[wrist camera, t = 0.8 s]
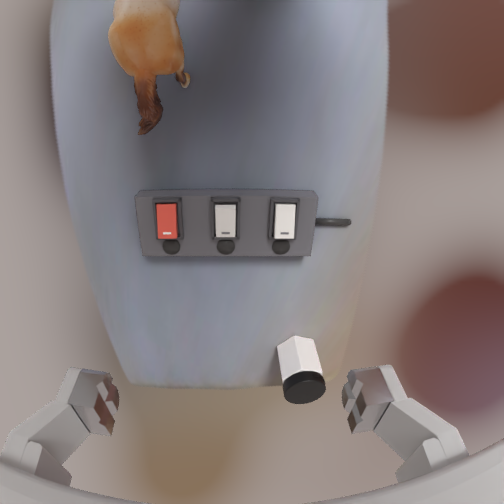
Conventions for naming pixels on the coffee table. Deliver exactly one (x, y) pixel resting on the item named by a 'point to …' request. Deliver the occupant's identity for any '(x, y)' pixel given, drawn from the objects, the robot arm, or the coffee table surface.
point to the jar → (300, 370)
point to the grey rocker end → (284, 221)
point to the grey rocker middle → (225, 220)
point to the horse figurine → (148, 50)
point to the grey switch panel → (246, 224)
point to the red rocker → (167, 220)
